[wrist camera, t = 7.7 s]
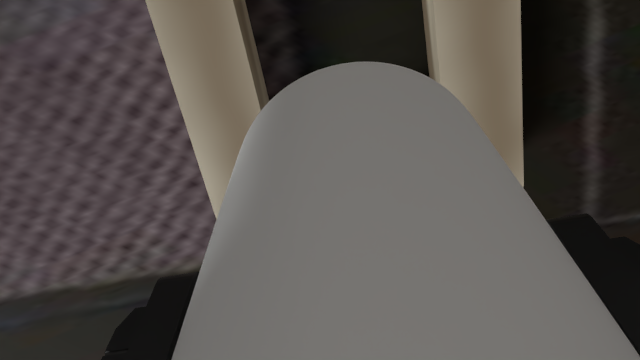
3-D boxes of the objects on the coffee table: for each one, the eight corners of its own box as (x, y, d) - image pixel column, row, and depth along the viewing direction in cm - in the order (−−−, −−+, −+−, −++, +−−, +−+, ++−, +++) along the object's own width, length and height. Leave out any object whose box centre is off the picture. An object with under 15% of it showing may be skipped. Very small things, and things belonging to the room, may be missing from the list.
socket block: (230, 205, 30) (221, 235, 27) (139, -93, 23) (115, -92, 21) (504, 159, 29) (523, 186, 26) (493, -170, 22) (517, -179, 19)
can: (193, 199, 15) (-137, 977, 4) (334, -1, 12) (423, 626, 2) (378, 308, 17) (483, 1053, 6) (535, 151, 14) (1193, 931, 3)
